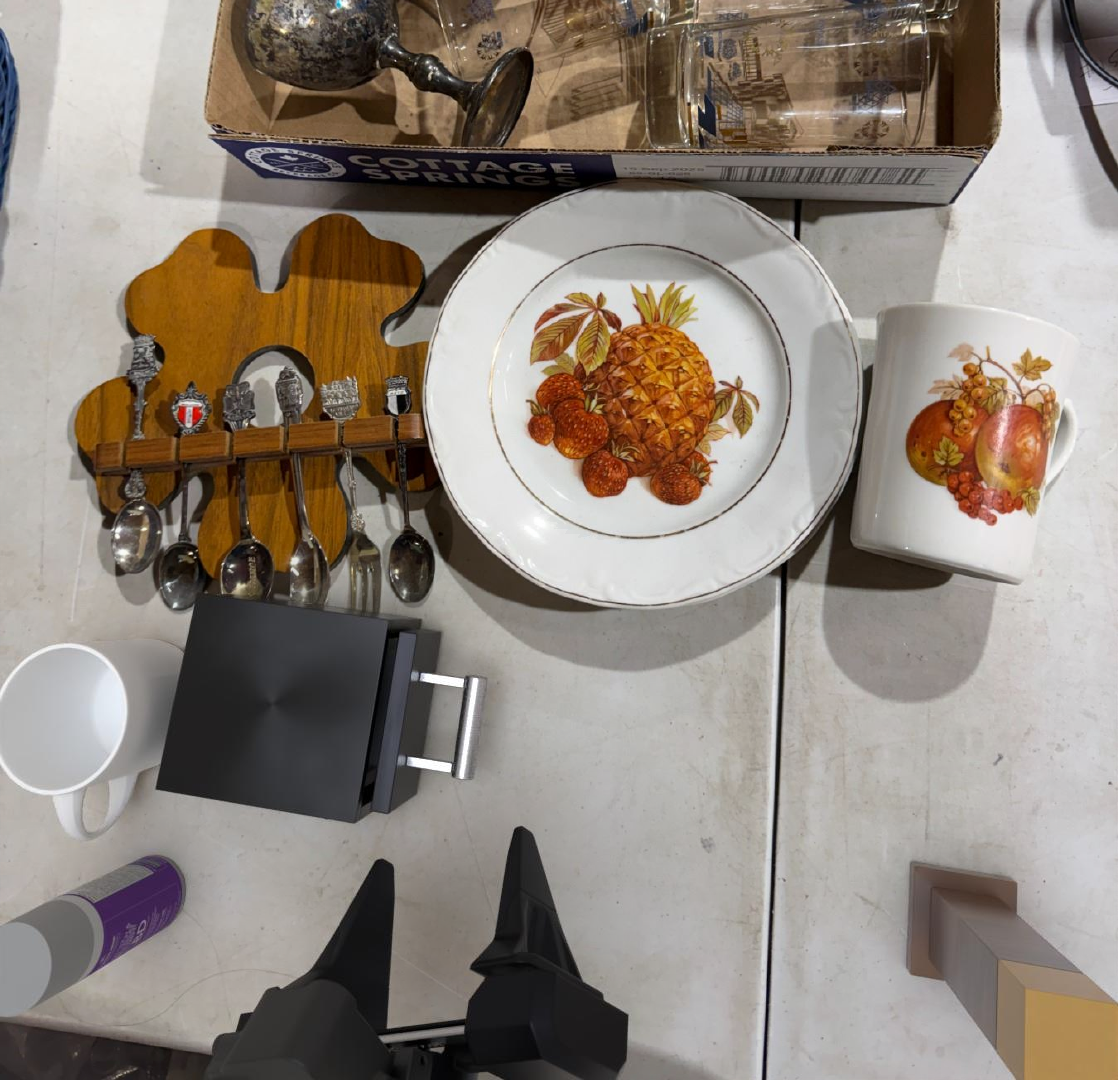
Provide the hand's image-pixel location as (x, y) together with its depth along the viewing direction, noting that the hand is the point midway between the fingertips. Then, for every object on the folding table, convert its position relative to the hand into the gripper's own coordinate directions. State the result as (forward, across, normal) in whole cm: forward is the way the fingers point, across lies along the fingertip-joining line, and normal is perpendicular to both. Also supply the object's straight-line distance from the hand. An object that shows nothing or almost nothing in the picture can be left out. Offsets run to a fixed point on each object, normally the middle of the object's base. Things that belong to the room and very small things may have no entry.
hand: (452, 846), depth 51 cm
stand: (+5, -14, +30) cm, 34 cm away
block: (-4, -22, +19) cm, 29 cm away
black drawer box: (+14, +17, +2) cm, 22 cm away
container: (+3, +30, +3) cm, 30 cm away
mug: (+12, +28, -3) cm, 31 cm away
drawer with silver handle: (+13, +13, +4) cm, 19 cm away
